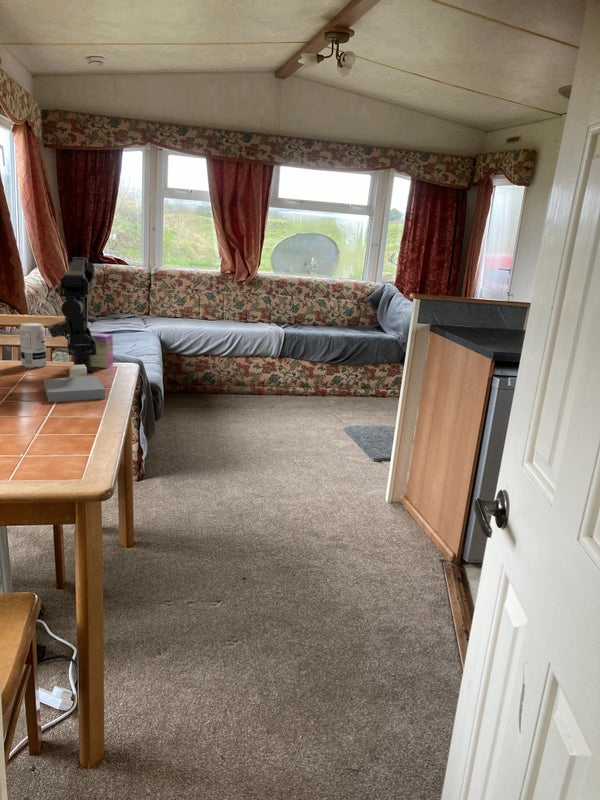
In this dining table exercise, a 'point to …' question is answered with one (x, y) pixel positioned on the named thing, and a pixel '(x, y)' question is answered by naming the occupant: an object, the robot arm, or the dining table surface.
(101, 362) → the box
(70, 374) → the cube
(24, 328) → the supplement can
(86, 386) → the base board
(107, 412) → the dining table surface
